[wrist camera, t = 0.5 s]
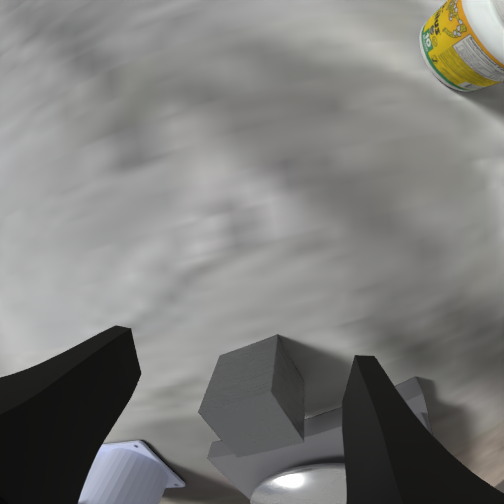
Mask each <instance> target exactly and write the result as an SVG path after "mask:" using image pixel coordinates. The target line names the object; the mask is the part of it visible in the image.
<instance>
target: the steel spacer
mask: <svg viewBox="0 0 504 504" xmlns="http://www.w3.org/2000/svg"><path fill="white" fill-rule="evenodd" d="M198 413H199V414H200V415H201V416H202V418H203V419H204V420H205V421H206V422H207V424H208V425H209V426H210V427H211V428H212V430H213V431H214V432H215V433H216V434H217V436H218V437H219V438H220V439H221V440H222V441H223V443H224V444H225V445H226V446H227V447H228V448H229V449H230V450H231V452H232V453H233V454H234V455H235V456H236V457H237V458H238V457H243V456H249V455H254V454H258V453H263V452H267V451H272V450H276V449H280V448H284V447H288V446H292V445H296V444H300V443H303V442H304V381H303V379H302V377H301V375H300V374H299V372H298V370H297V368H296V367H295V365H294V363H293V361H292V359H291V358H290V356H289V354H288V352H287V351H286V349H285V347H284V345H283V343H282V342H281V340H280V338H279V336H278V334H277V335H274V336H272V337H269V338H267V339H264V340H261V341H259V342H256V343H253V344H251V345H248V346H245V347H243V348H240V349H237V350H234V351H232V352H229V353H226V354H223V355H220V356H219V359H218V361H217V364H216V367H215V369H214V372H213V375H212V377H211V380H210V382H209V385H208V388H207V390H206V393H205V395H204V398H203V401H202V403H201V406H200V409H199V411H198Z"/></svg>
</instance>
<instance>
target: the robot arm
mask: <svg viewBox="0 0 504 504" xmlns="http://www.w3.org/2000/svg"><path fill="white" fill-rule="evenodd" d="M140 376H141V370H140V366H139V362H138V358H137V353H136V349H135V345H134V340H133V336H132V331H131V328H126V327H121V326H114V327H112V328H109V329H107V330H105V331H103V332H101V333H99V334H97V335H95V336H94V337H92V338H90V339H88V340H86V341H84V342H82V343H80V344H79V345H77V346H75V347H73V348H71V349H69V350H67V351H65V352H63V353H61V354H59V355H57V356H55V357H53V358H51V359H49V360H47V361H45V362H42V363H40V364H38V365H36V366H33V367H31V368H28V369H26V370H23V371H20V372H17V373H14V374H11V375H8V376H4V377H1V378H0V504H159V503H160V500H161V498H162V495H163V493H164V490H165V488H176V487H184V486H185V482H184V481H183V480H181V479H180V478H179V477H178V476H177V475H176V474H175V473H174V472H173V471H172V470H171V469H170V468H169V467H168V466H167V465H166V464H165V463H164V462H163V461H162V460H160V459H159V458H158V457H157V455H156V454H155V453H154V452H153V451H152V450H151V449H150V448H149V447H148V446H147V445H146V444H145V443H144V442H142V441H140V440H137V441H129V442H120V443H109V444H103V442H104V440H105V439H106V437H107V435H108V434H109V432H110V431H111V429H112V427H113V426H114V424H115V423H116V421H117V419H118V418H119V416H120V415H121V413H122V411H123V410H124V408H125V407H126V405H127V403H128V402H129V400H130V398H131V397H132V394H133V392H134V390H135V388H136V386H137V383H138V381H139V378H140ZM342 435H343V447H344V459H345V472H346V487H347V501H346V504H504V493H502V492H500V491H499V490H497V489H496V488H494V487H493V486H491V485H490V484H488V483H487V482H485V481H484V480H482V479H481V478H479V477H478V476H477V475H475V474H474V473H473V472H471V471H470V470H469V469H468V468H467V467H465V466H464V465H463V464H462V463H461V462H459V461H458V460H457V459H456V458H455V457H454V456H453V455H451V454H450V453H449V452H448V451H447V450H446V449H445V448H444V447H443V446H442V445H441V444H440V443H439V442H438V441H437V440H436V439H435V438H434V437H433V436H432V434H431V433H430V432H429V431H428V430H427V429H426V428H425V426H424V425H423V424H422V423H421V421H420V420H419V419H418V418H417V416H416V415H415V414H414V413H413V411H412V410H411V409H410V407H409V406H408V405H407V403H406V402H405V400H404V399H403V398H402V396H401V395H400V394H399V392H398V391H397V389H396V388H395V386H394V385H393V383H392V382H391V380H390V379H389V377H388V376H387V374H386V373H385V371H384V370H383V368H382V367H381V365H380V364H379V362H378V360H377V359H376V358H375V356H360V355H355V357H354V361H353V365H352V369H351V373H350V376H349V380H348V384H347V388H346V391H345V395H344V398H343V408H342Z"/></svg>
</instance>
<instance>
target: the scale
mask: <svg viewBox="0 0 504 504" xmlns="http://www.w3.org/2000/svg"><path fill="white" fill-rule="evenodd" d="M395 388H396V389H397V391H398V392H399V394H400V395H401V396H402V398H403V399H404V400H405V402H406V403H407V405H408V406H409V407H410V409H411V410H412V411H413V413H414V414H415V415H416V416H417V418H418V419H419V420H420V421H421V423H422V424H423V425H424V426H425V428H426V429H427V430H428V431H429V432H430V433H431V434H432V430H431V425H430V421H429V416H428V412H427V407H426V403H425V399H424V395H423V392H422V390H421V388H420V385H419V383H418V381H417V379H416V377H414V378H412V379H410V380H408V381H406V382H403V383H401V384H399V385H397V386H395ZM342 408H343V407H341V408H339V409H336V410H333V411H330V412H327V413H324V414H321V415H318V416H315V417H312V418H309V419H305V420H304V442H303V443H300V444H296V445H292V446H288V447H284V448H280V449H276V450H272V451H267V452H263V453H258V454H254V455H249V456H243V457H238V458H237V457H236V456H235V455H234V454H233V453H232V452H231V450H230V449H229V448H228V447H227V446H226V445H225V444H224V443H223V441H217V442H212V444H211V447H210V451H209V454H208V457H207V459H208V460H209V461H210V462H211V463H212V464H213V465H214V466H215V467H216V468H217V469H218V470H219V471H220V472H221V473H222V474H223V475H224V476H225V477H226V478H227V479H228V480H229V481H230V482H231V483H232V484H233V485H234V486H235V487H236V488H237V489H239V490H240V491H241V492H242V493H243V494H244V495H245V496H246V497H247V498H248V499H249V500H251V494H252V491H253V489H254V487H255V486H256V485H257V484H258V483H259V482H260V481H261V480H263V479H264V478H266V477H268V476H270V475H272V474H274V473H277V472H280V471H283V470H286V469H290V468H294V467H299V466H305V465H312V464H324V463H342V464H345V459H344V447H343V435H342ZM432 436H433V435H432Z"/></svg>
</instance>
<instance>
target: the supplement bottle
mask: <svg viewBox="0 0 504 504" xmlns="http://www.w3.org/2000/svg"><path fill="white" fill-rule="evenodd" d="M419 41H420V48H421V53H422V56H423V59H424V61H425V63H426V64H427V66H428V68H429V70H430V71H431V72H432V73H433V74H434V75H435V76H436V77H437V78H438V79H439V80H440V81H441V82H443V83H444V84H445V85H447V86H449V87H450V88H453V89H455V90H459V91H464V92H470V91H475V90H478V89H482V88H485V87H488V86H491V85H494V84H497V83H500V82H503V81H504V0H448V1H446V3H445V4H444V5H443V6H442V7H441V8H440V9H439V10H438V11H437V12H436V13H435V14H434V15H433V16H432V17H431V18H429V19H428V21H427V22H426V23H425V24H424V25H423V27H422V29H421V31H420V36H419Z"/></svg>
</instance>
